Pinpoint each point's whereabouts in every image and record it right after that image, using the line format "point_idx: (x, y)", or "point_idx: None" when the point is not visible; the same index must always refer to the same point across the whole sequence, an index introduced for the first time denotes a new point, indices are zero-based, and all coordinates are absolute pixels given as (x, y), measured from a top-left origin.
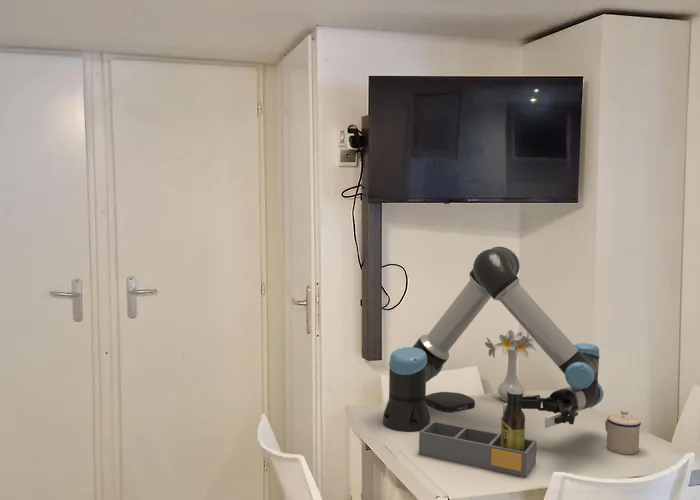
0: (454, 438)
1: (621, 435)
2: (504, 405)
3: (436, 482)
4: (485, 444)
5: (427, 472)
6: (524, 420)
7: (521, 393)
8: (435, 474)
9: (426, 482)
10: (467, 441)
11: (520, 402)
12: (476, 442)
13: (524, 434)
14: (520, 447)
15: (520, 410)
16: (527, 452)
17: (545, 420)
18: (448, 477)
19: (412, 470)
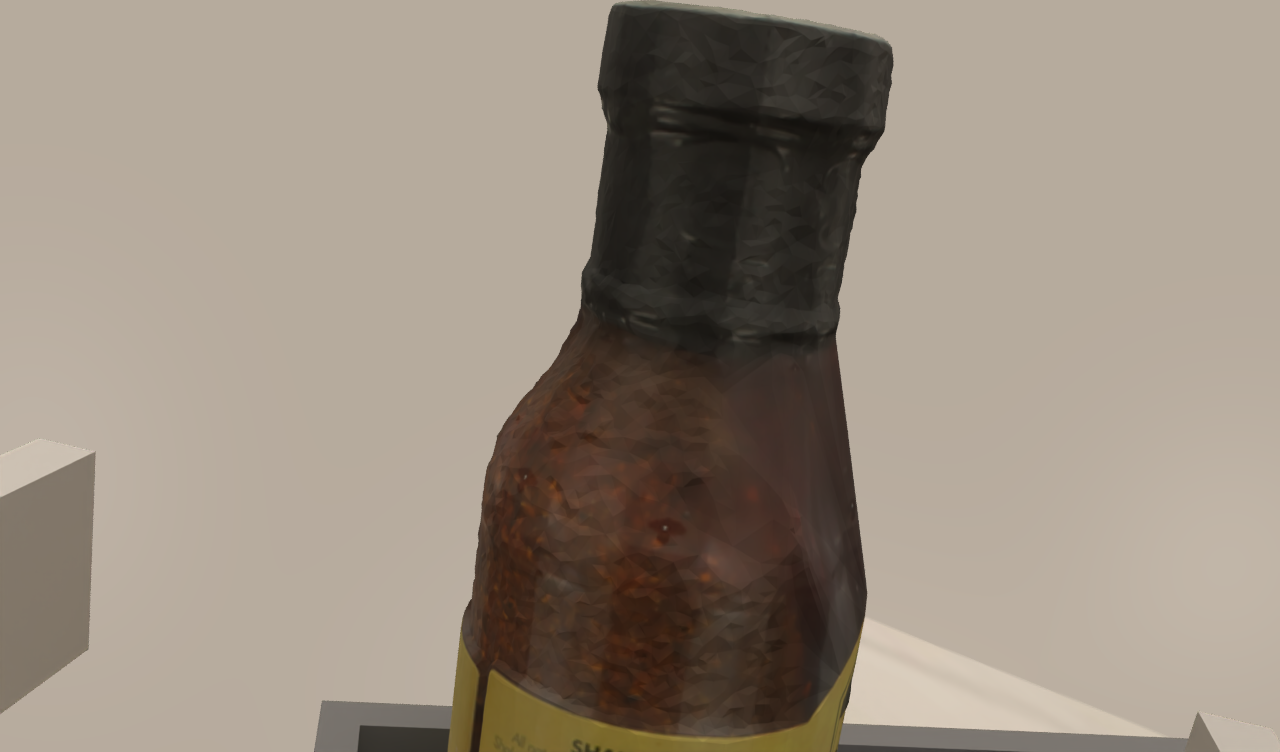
0: (1180, 744)
1: None
2: (1216, 722)
3: (863, 651)
4: (843, 733)
5: (1025, 727)
6: (483, 493)
7: (619, 2)
8: (964, 722)
9: (903, 636)
10: (1032, 733)
11: (601, 179)
12: (949, 740)
13: (450, 743)
14: None
15: (579, 332)
16: (323, 718)
17: (84, 515)
18: (867, 718)
19: (1110, 717)
